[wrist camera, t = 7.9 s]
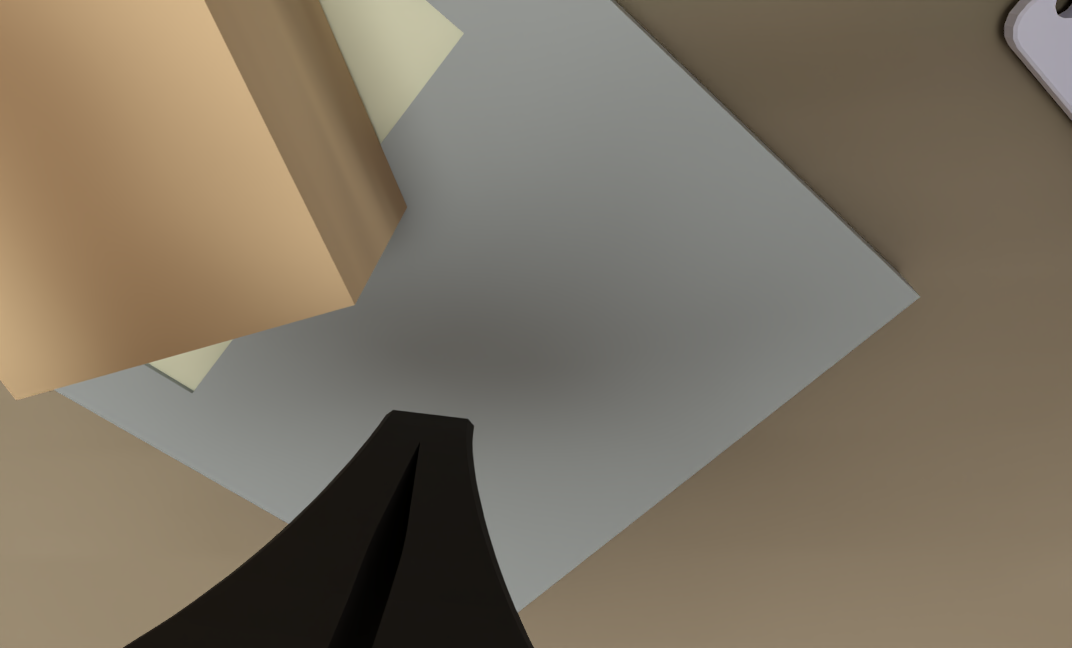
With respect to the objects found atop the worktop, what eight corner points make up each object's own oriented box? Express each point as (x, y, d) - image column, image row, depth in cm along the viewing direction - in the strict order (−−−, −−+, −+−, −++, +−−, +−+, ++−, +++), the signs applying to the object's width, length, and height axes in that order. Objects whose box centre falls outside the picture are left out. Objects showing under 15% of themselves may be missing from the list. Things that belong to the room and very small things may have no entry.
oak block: (258, -143, 12) (124, -160, 8) (407, 207, 14) (354, 304, 11) (-53, -14, 13) (-286, 19, 9) (140, 288, 16) (16, 400, 12)
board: (-115, -700, 10) (-183, -759, 9) (901, 274, 16) (920, 296, 15) (-325, 128, 15) (-379, 143, 14) (489, 606, 22) (486, 636, 21)
